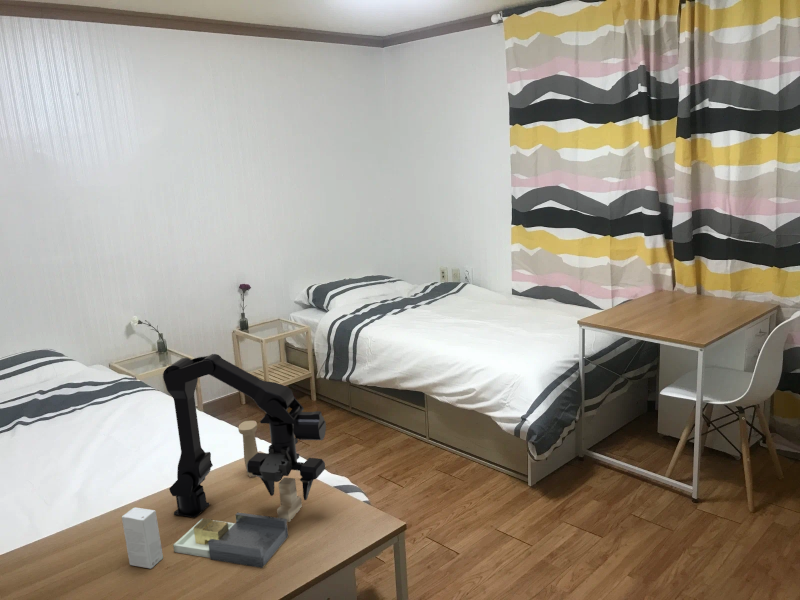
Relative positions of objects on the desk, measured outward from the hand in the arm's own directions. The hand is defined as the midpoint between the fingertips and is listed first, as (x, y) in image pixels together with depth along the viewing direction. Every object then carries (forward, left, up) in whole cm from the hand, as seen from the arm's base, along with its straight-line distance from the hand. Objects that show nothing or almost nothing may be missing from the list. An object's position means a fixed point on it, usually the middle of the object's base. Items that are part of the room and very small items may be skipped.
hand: (288, 497), depth 156 cm
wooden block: (-13, -15, -2) cm, 20 cm away
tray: (-14, -15, -4) cm, 21 cm away
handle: (-20, +16, -5) cm, 26 cm away
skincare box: (-23, -25, -5) cm, 34 cm away
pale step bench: (0, 0, -5) cm, 5 cm away
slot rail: (-2, -15, -4) cm, 16 cm away
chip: (-11, -15, -3) cm, 19 cm away
